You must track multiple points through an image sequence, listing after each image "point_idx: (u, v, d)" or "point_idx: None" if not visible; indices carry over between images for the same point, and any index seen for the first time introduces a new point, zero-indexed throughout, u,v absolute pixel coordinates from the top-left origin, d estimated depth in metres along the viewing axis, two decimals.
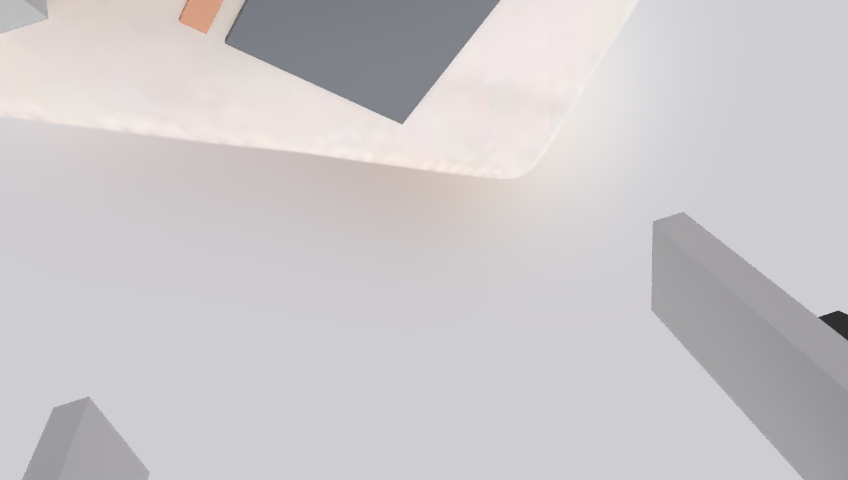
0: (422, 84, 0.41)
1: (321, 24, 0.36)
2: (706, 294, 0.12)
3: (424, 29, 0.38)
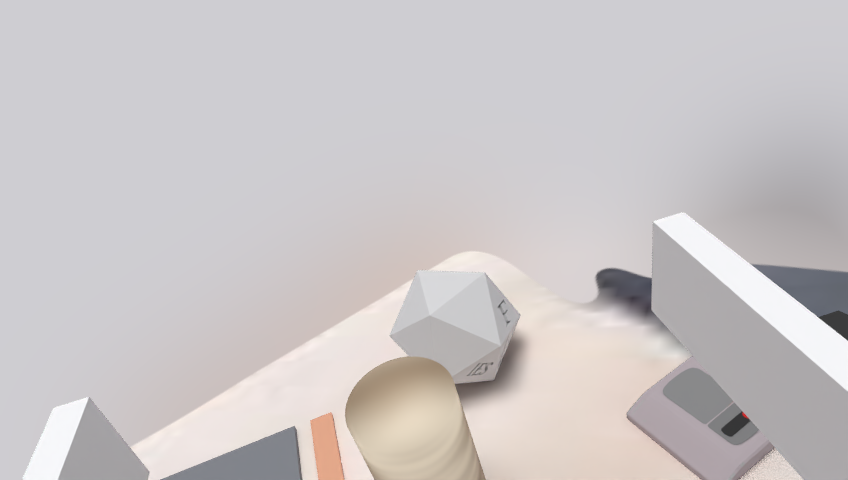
0: None
1: None
2: (706, 293, 0.12)
3: None
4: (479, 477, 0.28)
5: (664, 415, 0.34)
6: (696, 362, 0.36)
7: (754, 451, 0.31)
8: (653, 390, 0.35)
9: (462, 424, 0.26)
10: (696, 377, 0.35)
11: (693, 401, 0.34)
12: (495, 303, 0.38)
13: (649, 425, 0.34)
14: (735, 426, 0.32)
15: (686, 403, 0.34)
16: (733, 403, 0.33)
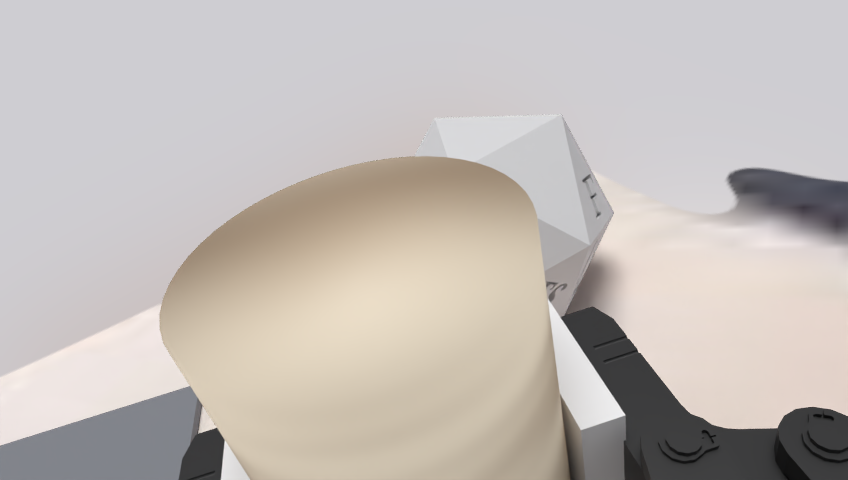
0: None
1: None
2: None
3: None
4: None
5: None
6: None
7: None
8: None
9: (549, 342, 0.08)
10: None
11: None
12: (579, 172, 0.20)
13: None
14: None
15: None
16: None
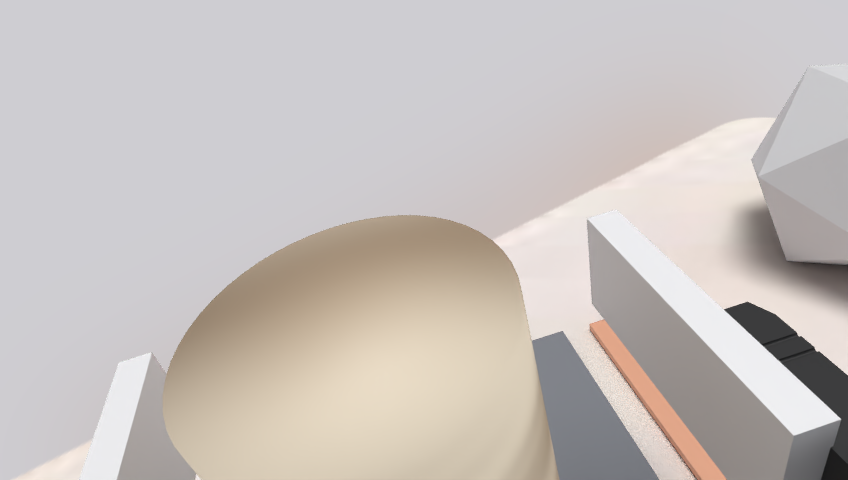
0: None
1: None
2: (630, 286, 0.12)
3: None
4: None
5: None
6: None
7: None
8: None
9: (537, 409, 0.08)
10: None
11: None
12: None
13: None
14: None
15: None
16: None
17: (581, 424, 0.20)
